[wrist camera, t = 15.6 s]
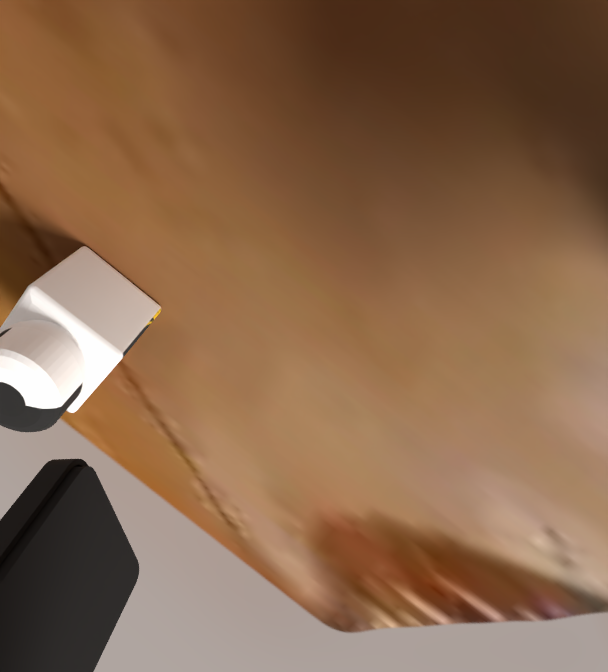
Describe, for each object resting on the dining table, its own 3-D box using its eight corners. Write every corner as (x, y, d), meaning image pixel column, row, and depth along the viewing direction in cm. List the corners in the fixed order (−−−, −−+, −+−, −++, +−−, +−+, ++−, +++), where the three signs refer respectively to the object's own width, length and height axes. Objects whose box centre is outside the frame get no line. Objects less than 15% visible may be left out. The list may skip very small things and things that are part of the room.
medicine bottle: (117, 361, 46) (31, 465, 35) (41, 304, 44) (-71, 395, 34) (164, 306, 42) (85, 403, 32) (85, 242, 41) (-26, 322, 30)
